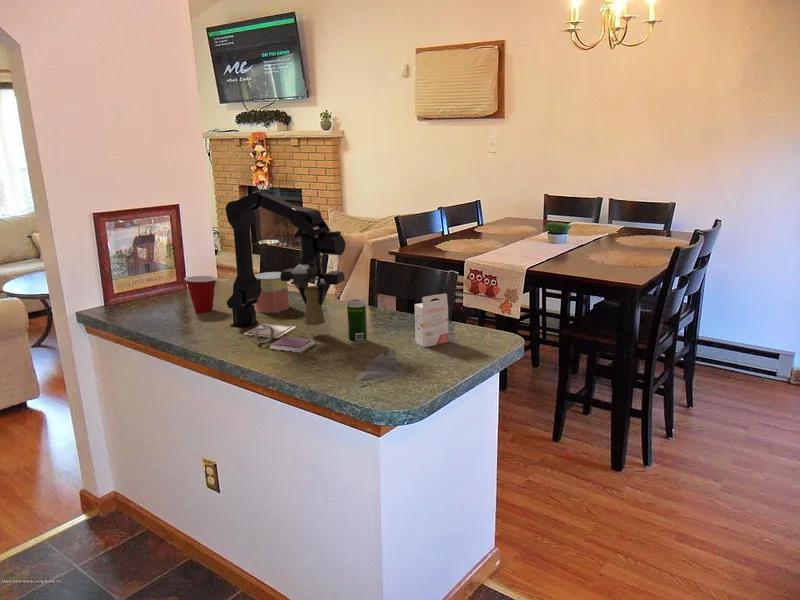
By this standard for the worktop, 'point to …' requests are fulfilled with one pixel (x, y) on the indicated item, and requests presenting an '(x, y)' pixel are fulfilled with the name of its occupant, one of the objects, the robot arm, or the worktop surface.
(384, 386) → the worktop surface
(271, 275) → the canned food
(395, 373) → the cloth
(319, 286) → the robot arm
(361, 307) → the green drink can
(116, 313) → the worktop surface
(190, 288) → the plastic cup
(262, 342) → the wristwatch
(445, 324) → the ink cartridge box
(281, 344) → the ink pad
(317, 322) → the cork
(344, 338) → the worktop surface
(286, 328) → the marked card
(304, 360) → the worktop surface
